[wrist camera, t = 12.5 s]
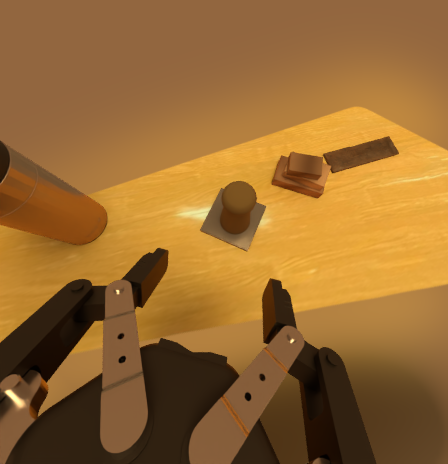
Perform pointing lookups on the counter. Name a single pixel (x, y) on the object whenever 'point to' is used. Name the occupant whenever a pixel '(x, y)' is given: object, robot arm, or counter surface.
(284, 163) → the offcut stack
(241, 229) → the cork
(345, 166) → the wooden plank
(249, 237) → the slate coaster
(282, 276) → the counter surface
